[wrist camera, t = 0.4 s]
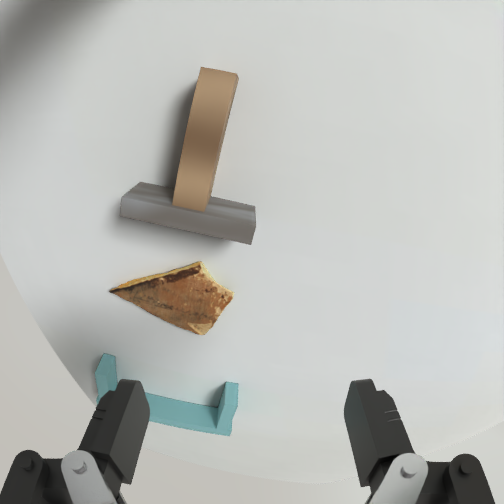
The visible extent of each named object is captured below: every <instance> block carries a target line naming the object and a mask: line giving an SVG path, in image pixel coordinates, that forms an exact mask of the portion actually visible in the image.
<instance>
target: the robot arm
mask: <svg viewBox="0 0 504 504" xmlns="http://www.w3.org/2000/svg"><path fill="white" fill-rule="evenodd" d="M149 418H150V407H149V403H148V401H147V398H146V395H145V392H144V389H143V387H142V384H141V382H140V381H135V380H126V379H121V380H120V381H119V383H118V385H117V387H116V390H115V391H112V390H109V391H108V392H107V393H106V394H105V395H104V396H103V397H102V398H100V401H99V403H98V405H97V407H96V411H95V412H94V414H93V416H92V419H91V421H90V423H89V425H88V427H87V430H86V432H85V434H84V437H83V439H82V441H81V444H80V446H79V448H78V449H77V450H76V451H72V452H70V453H68V454H67V455H66V456H65V457H64V458H62V459H43V458H42V457H41V456H40V455H39V454H38V453H37V452H35V451H32V450H25V451H22V452H20V453H19V454H18V455H17V456H16V457H15V459H14V461H13V464H12V466H11V468H10V471H9V473H8V476H7V479H6V481H5V483H4V486H3V488H2V491H1V494H0V504H127V503H126V501H125V499H124V497H123V495H122V493H121V492H120V487H121V483H126V484H131V482H132V479H133V475H134V471H135V468H136V464H137V460H138V457H139V453H140V450H141V446H142V443H143V439H144V436H145V432H146V429H147V425H148V422H149ZM344 418H345V423H346V427H347V431H348V435H349V439H350V443H351V447H352V451H353V455H354V460H355V464H356V468H357V472H358V477H359V481H360V485H361V487H365V486H370V489H371V494H370V496H369V497H368V499H367V501H366V503H365V504H495V502H494V499H493V496H492V493H491V490H490V487H489V485H488V482H487V479H486V476H485V474H484V471H483V469H482V466H481V464H480V462H479V460H478V459H477V458H476V457H475V456H473V455H470V454H461V455H458V456H456V457H455V458H454V459H453V460H452V461H451V462H429V461H425V460H424V459H423V458H422V457H421V456H419V455H417V454H415V452H414V450H413V448H412V446H411V443H410V440H409V438H408V435H407V433H406V430H405V428H404V425H403V422H402V420H401V419H400V418H401V417H400V415H399V413H398V412H397V408H396V405H395V403H394V400H393V398H392V397H391V396H390V395H389V394H387V393H386V392H385V391H384V390H382V391H376V388H375V385H374V383H373V381H372V380H371V379H365V380H356V381H352V382H351V384H350V387H349V391H348V395H347V399H346V402H345V406H344Z"/></svg>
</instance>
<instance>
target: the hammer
mask: <svg viewBox="0 0 504 504" xmlns="http://www.w3.org/2000/svg"><path fill="white" fill-rule="evenodd" d="M238 80H239V78H238V76H237V74H236V73H231V72H226V71H221V70H215V69H210V68H204V67H201V69H200V73H199V77H198V81H197V85H196V89H195V93H194V98H193V102H192V106H191V110H190V115H189V119H188V124H187V129H186V133H185V138H184V143H183V148H182V153H181V158H180V163H179V169H178V174H177V179H176V185H175V189H174V188H169V187H164V186H159V185H154V184H149V183H144V182H140V183H138V184H137V185H136V186H135V187H133V188H132V189H131V190H130V191H129V192H127V193H126V194H125V195H124V196H122V198H121V208H120V216H121V217H126V218H131V219H135V220H140V221H145V222H149V223H154V224H158V225H163V226H168V227H172V228H177V229H181V230H186V231H191V232H195V233H200V234H204V235H209V236H213V237H218V238H222V239H227V240H231V241H236V242H240V243H245V244H249V245H251V243H252V239H253V235H254V232H255V228H256V216H255V206H251V205H247V204H243V203H239V202H234V201H230V200H225V199H221V198H216V197H212V196H211V192H212V187H213V183H214V178H215V174H216V169H217V165H218V161H219V156H220V152H221V148H222V143H223V139H224V135H225V131H226V127H227V123H228V119H229V115H230V111H231V107H232V103H233V99H234V95H235V91H236V87H237V83H238Z"/></svg>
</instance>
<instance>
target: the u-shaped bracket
mask: <svg viewBox="0 0 504 504" xmlns="http://www.w3.org/2000/svg"><path fill="white" fill-rule="evenodd" d="M95 377H96V383H97V389H98V394H99V395H98V397H97V400H96V401H97V405H98V403H99V401H100V398H102V397H103V396H104V395H105V394H106V393H107V392H108V391H109V390H112V391H115V390H116V387H117V375H116V362H115V356H112V355H108V354H105V353H104V354H103V357H102V359H101V361H100V363H99V365H98V367H97V370H96V372H95ZM145 395H146V398H147V401H148V403H149V407H150V418H149V421H152V422H156V423H160V424H165V425H169V426H174V427H179V428H184V429H189V430H194V431H200V432H206V433H212V434H218V435H225V436H230V434H231V431H232V419H233V416H234V414H235V411H236V409H237V406H238V384H236V383H230V382H226V384H225V387H224V390H223V394H222V397H221V400H220V403H219V406H218V408H216V407H210V406H204V405H199V404H194V403H189V402H184V401H179V400H174V399H170V398H165V397H161V396H157V395H153V394H149V393H145Z"/></svg>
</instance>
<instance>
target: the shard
mask: <svg viewBox="0 0 504 504" xmlns="http://www.w3.org/2000/svg"><path fill="white" fill-rule="evenodd" d="M110 292H111V293H114V294H116V295H118V296H119V297H121V298H123V299H125V300H127V301H130V302H133V303H134V304H136V305H137V306H139V307H141V308H143V309H144V310H146V311H147V312H149V313H151V314H153V315H155V316H157V317H160V318H161V319H163V320H165V321H167V322H169V323H172V324H174V325H176V326H178V327H180V328H183V329H185V330H189V331H192V332H194V333H196V334H199V335H205V334H206V333H207V332H208V331H209V329H211V328H212V327H213V325H214V323H215V322H216V320H217V319H218V317H219V316H220V314H221V313H222V311H223V310H224V308H225V307H226V306H227V305H228V304H229V303H230V301H231V300H232V299H233V296H234V292H232V291H230V290H228V289H226V288H224V287H223V286H221V285H219V284H218V283H216V282H215V280H214V279H213V278H212V277H211V275H210V274H209V272H208V271H207V269H206V268H205V266H204V264H203V263H202V262H201V261H200V262H196V263H194V264H191V265H189V266H186V267H184V268H180V269H174V270H172V271H170V272H168V273H163V274H156V275H152V276H148V277H143V278H140V279H134V280H131V281H129V282H127V283H125V284H121V285H120V286H118V287H117V288H114V289H111V290H110Z"/></svg>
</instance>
